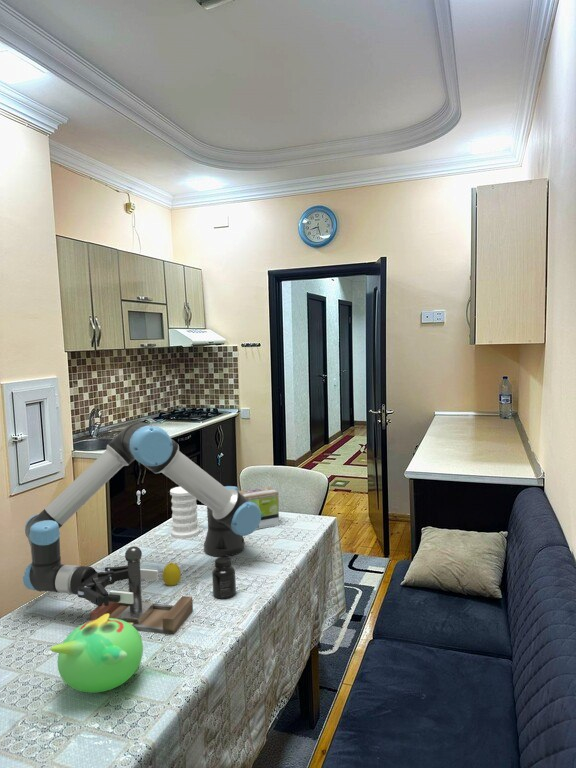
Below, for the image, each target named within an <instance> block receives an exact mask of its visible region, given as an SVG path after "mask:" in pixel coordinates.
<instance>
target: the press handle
mask: <svg viewBox="0 0 576 768" xmlns="http://www.w3.org/2000/svg"><path fill="white" fill-rule="evenodd" d="M142 556H143V553H142V549H141V548H140V547H138V546H136V545H135V546H134V545H133V546H130V547H128V548H127V549H126V550H125V553H124V558H125V560H126V562H127V566H128V579H127V580H128V592H132V593H133V598H134V603H133V604H130V606H129V607H128V608H126V609H125V610H124V611H123V612H122V613H121V614H120V615H119V616H118V619H119V620H123V621H125V622H130V623H133V624H138V625H140V624H141V623H142V622H143V621H144V620H145V619H146V618H147V617H148V616H149V615H150V614H151V612H152V611H153V604H152V603H142V601H143V599H142V595H143V594H142V579H141V574H140V569H141V559H142Z"/></svg>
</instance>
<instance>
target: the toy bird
mask: <svg viewBox="0 0 576 768" xmlns="http://www.w3.org/2000/svg"><path fill="white" fill-rule="evenodd" d="M109 615H110V614H109V613H107V614H104V615H103V616H101V617H99V618H98V619H96V620H92V621H91V620H89V621H87V622H85V623H83V624H80V625H79V626H78V627H76V628H74V629H73V630H72V631H71V632H70V633H69V634H68V635H67V637H65V639H64V641H63V642H62V643H58V644H56V645H53V646H51V647H50V651H51V652H53V653H57V670H58V673H59V675H60V678H61V679H62V680H63V681H64V682H65V684H66V685H68V686H69V687H70V688H72V689H75V690H76V691H80V692H85V693H91V694H92V693H95V694H96V693H103V692H107V691H110V690H113V689H115V688H117V687H119V686H122V685H123V684H124V683H125V682H127V681H128V680H130V678H131V677H133V675H134V674H135V673H136V671H137V670H138V668H139V667H140V666H139V665H140V664H141V661H142V657H143V651H144V647H143V646H144V645H143V639H142V636H141V634H140V633H139V631H137V630H136V629H135V628H134V627H133V626H132V625H131V624H129V623H127V622H125V621H123V620H119V619H114V618H109Z"/></svg>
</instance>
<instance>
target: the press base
mask: <svg viewBox="0 0 576 768" xmlns="http://www.w3.org/2000/svg"><path fill="white" fill-rule="evenodd" d="M142 603H152V604H153V611H152V612H151V614H150V615H149V616H148V617H147V618H146V619H145V620H144V621H143V622H142V623H141V624H140V625H138V624H133V623H130V622H127V623H129V624H131V625H132V626H133V627H134V628H135V629H136V630H137V631H138V632H146V633H154V634H155V633H157V634H164V635H172V636H174V635H175V634H176V633H177V632H178V630H179V629H180V628H181V626H182V625H183V624H184V623H185V622H186V620H187V619H188V618H189V617H190V615H191V614H192V613H193V611H194V608H193V607H194V606H193V605H194V604H193V603H194V601H193V597H192V596H185V595H184V596H183V595H182V596H181V597H180V598H179V600H178V601H177V602H175V604H173V605H172V604H163V603H162V604H161V603H154V602H151V601H143V600H142ZM129 606H130V604H126V603H117V602H109V605H108V606H104V603H102V606H96V608H94V609H93V610H92V611H90V621H92V620H96V619H98V618H99V617H101V616H103V615H104V614H107V613H109V614H110V615H109V618H114V619H118V616H119V615H120V614H121V613H122V612H123V611H124V610H125V609H126V608H128V607H129Z"/></svg>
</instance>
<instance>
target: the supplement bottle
mask: <svg viewBox="0 0 576 768" xmlns="http://www.w3.org/2000/svg"><path fill="white" fill-rule="evenodd" d="M214 567H215V568H213V570H212V572H211V573H212V574H211V575H212V576H211V577H212V596H213V597H214V599H216V600H220V601H222V600H230V599H232V598H234V597H235V596H237V583H236V570H235V568H234V566H233V565H232V558H231V557H230V556H221V557H220V556H219V557H217V558H216V559H215V560H214Z"/></svg>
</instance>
